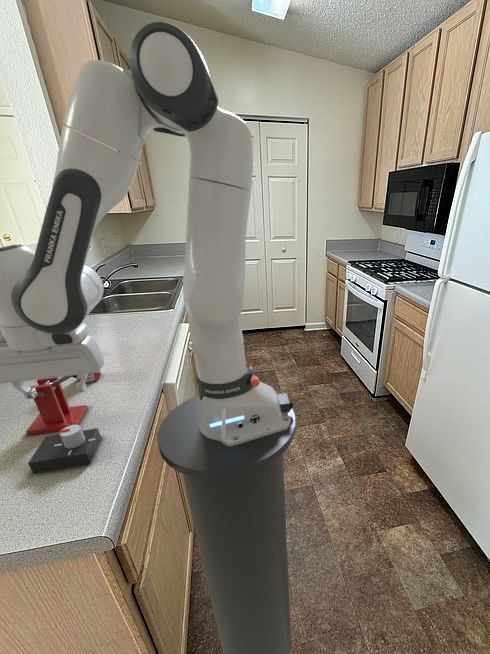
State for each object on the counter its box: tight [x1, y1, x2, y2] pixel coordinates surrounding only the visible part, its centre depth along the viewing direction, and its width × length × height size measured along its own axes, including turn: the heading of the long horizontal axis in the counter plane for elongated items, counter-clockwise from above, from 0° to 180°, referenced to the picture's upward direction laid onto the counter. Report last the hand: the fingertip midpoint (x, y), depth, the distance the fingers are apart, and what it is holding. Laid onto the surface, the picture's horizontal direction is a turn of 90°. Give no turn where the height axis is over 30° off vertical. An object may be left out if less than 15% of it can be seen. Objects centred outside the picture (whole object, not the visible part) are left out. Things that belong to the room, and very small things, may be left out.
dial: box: [59, 424, 85, 448], centre depth 74 cm, size 4×4×4 cm
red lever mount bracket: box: [26, 377, 89, 436], centre depth 84 cm, size 11×9×12 cm
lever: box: [41, 375, 77, 390], centre depth 83 cm, size 11×5×2 cm, turn 105°
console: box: [27, 427, 102, 474], centre depth 75 cm, size 12×9×3 cm
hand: (57, 394), depth 70 cm, fingers open, 8 cm apart
